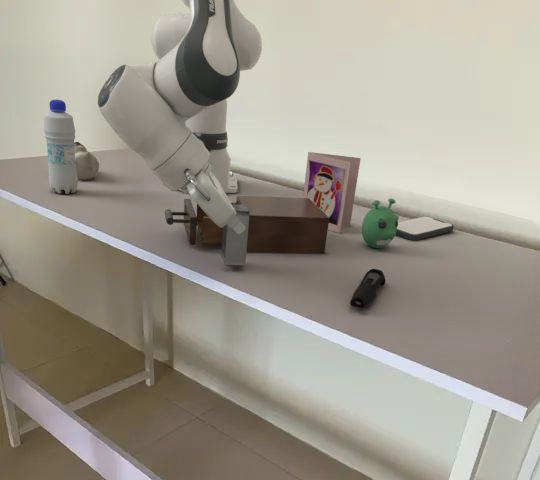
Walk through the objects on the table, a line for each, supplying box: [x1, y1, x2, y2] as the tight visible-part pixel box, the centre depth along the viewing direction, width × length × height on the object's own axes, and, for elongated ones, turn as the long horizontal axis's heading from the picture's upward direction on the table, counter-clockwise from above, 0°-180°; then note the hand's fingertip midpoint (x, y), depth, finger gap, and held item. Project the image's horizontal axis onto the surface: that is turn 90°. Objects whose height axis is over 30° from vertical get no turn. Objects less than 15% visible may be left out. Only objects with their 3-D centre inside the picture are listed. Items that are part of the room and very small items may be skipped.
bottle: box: [43, 99, 79, 195], centre depth 136 cm, size 7×7×20 cm
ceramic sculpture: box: [74, 141, 100, 181], centre depth 154 cm, size 11×9×15 cm
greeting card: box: [302, 151, 362, 234], centre depth 133 cm, size 11×7×15 cm, turn 47°
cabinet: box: [235, 195, 329, 254], centre depth 121 cm, size 16×15×7 cm
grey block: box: [221, 204, 250, 266], centre depth 104 cm, size 4×4×10 cm
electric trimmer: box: [349, 268, 386, 309], centre depth 99 cm, size 4×16×3 cm, turn 159°
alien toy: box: [361, 197, 400, 249], centre depth 122 cm, size 7×8×10 cm
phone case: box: [396, 216, 455, 241], centre depth 138 cm, size 9×2×16 cm
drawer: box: [164, 198, 239, 246], centre depth 118 cm, size 19×13×5 cm
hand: (239, 225), depth 104 cm, fingers closed on grey block, 4 cm apart
